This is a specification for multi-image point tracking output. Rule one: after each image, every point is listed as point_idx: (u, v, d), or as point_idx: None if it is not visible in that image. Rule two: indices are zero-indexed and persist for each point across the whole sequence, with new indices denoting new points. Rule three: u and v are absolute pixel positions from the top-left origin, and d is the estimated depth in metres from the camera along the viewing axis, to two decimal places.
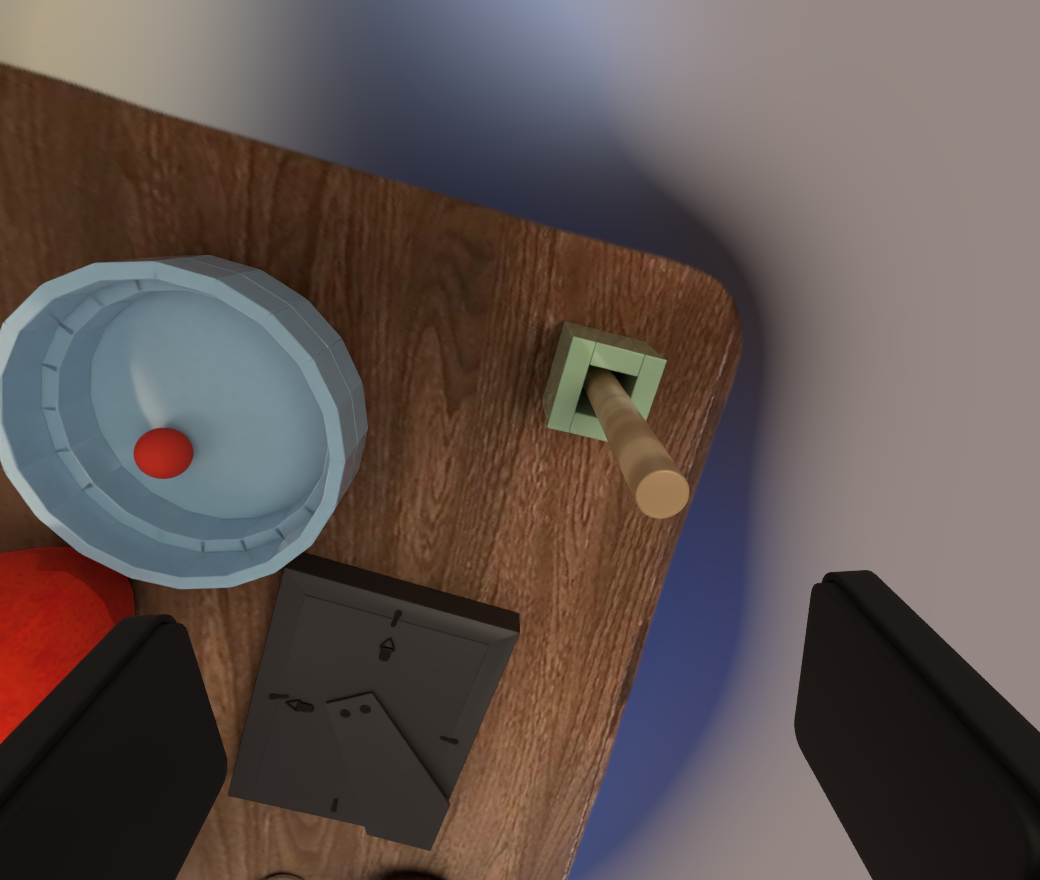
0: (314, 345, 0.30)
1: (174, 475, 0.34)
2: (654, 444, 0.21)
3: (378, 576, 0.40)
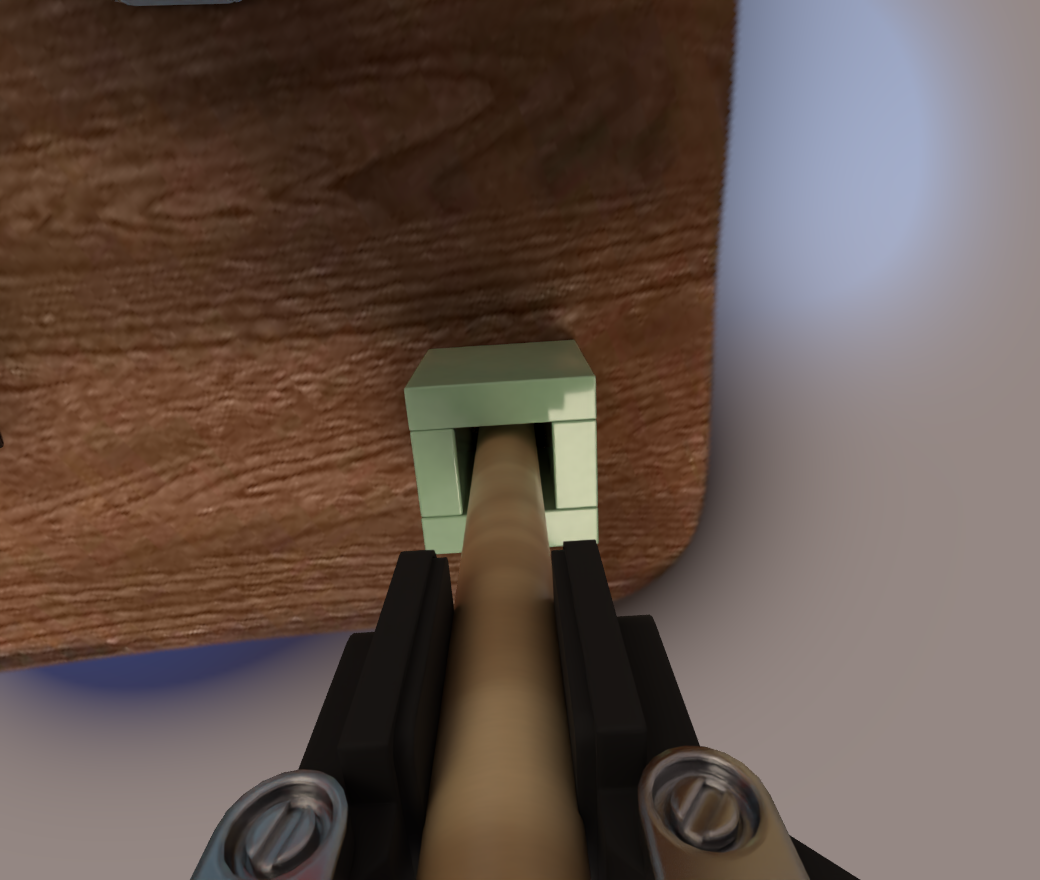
0: None
1: None
2: None
3: None
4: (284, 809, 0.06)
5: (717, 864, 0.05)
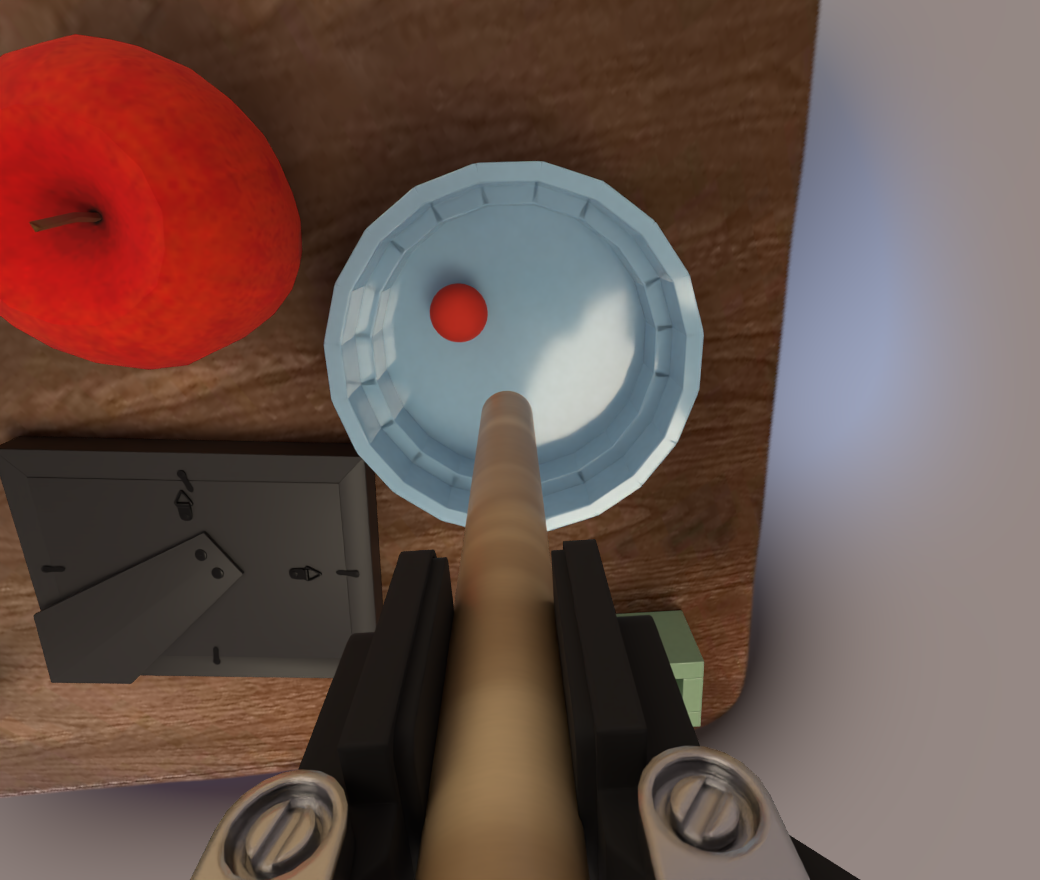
0: None
1: (441, 335, 0.30)
2: None
3: (377, 531, 0.37)
4: (284, 809, 0.06)
5: (718, 864, 0.05)
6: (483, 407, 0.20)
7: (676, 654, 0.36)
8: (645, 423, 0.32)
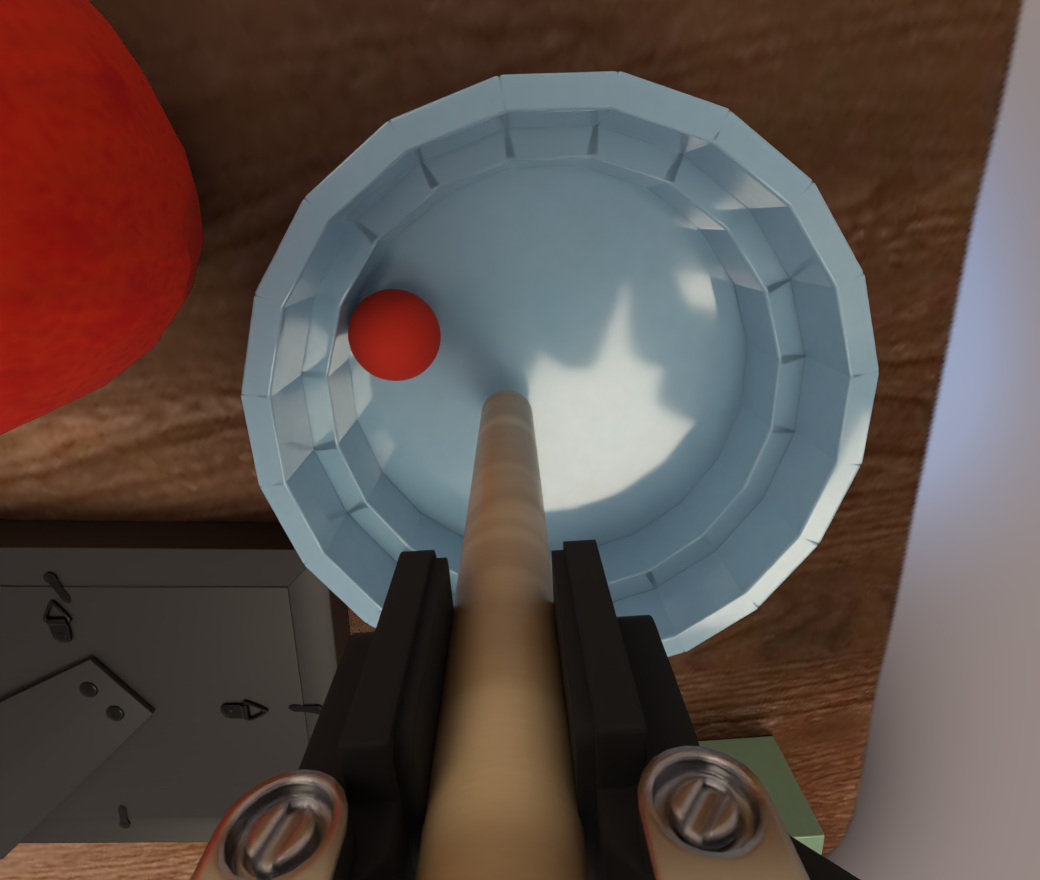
0: None
1: None
2: None
3: None
4: (284, 809, 0.06)
5: (718, 865, 0.05)
6: (483, 406, 0.20)
7: None
8: (753, 502, 0.21)
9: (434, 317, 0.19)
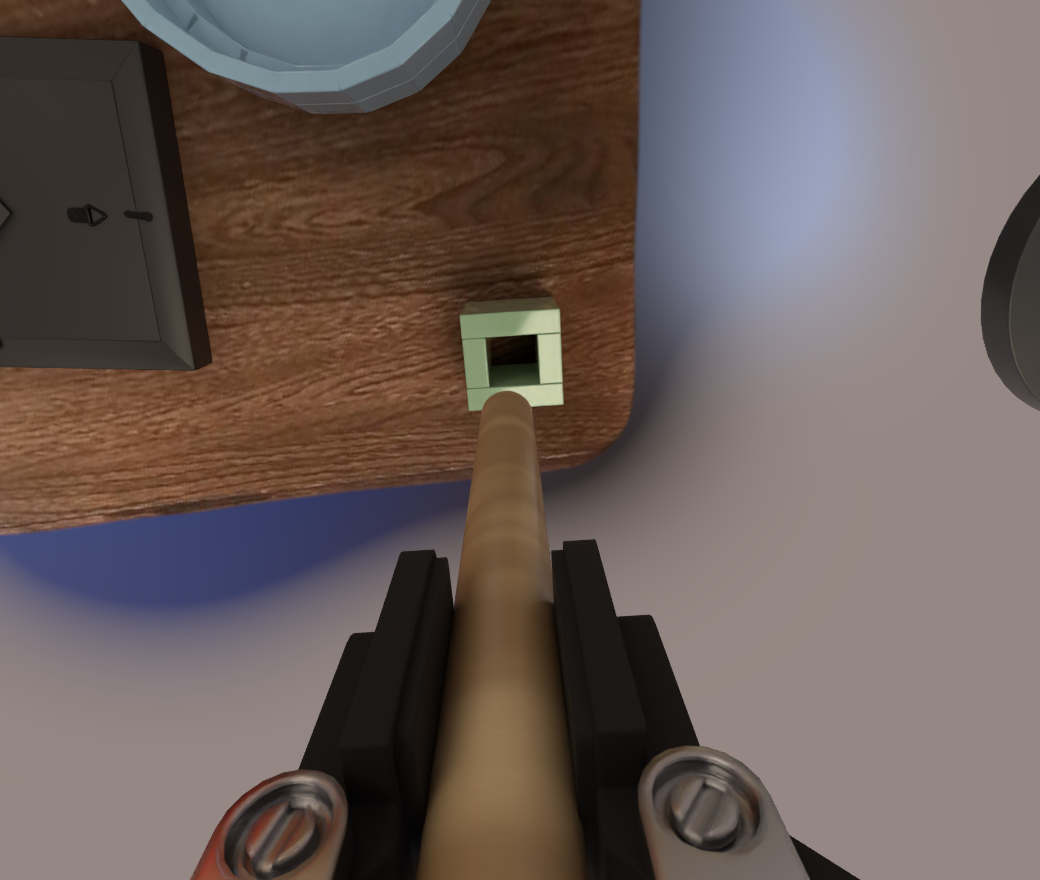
0: (461, 16, 0.25)
1: None
2: None
3: (179, 177, 0.31)
4: (284, 809, 0.06)
5: (716, 863, 0.05)
6: (483, 407, 0.20)
7: (530, 308, 0.30)
8: None
9: None
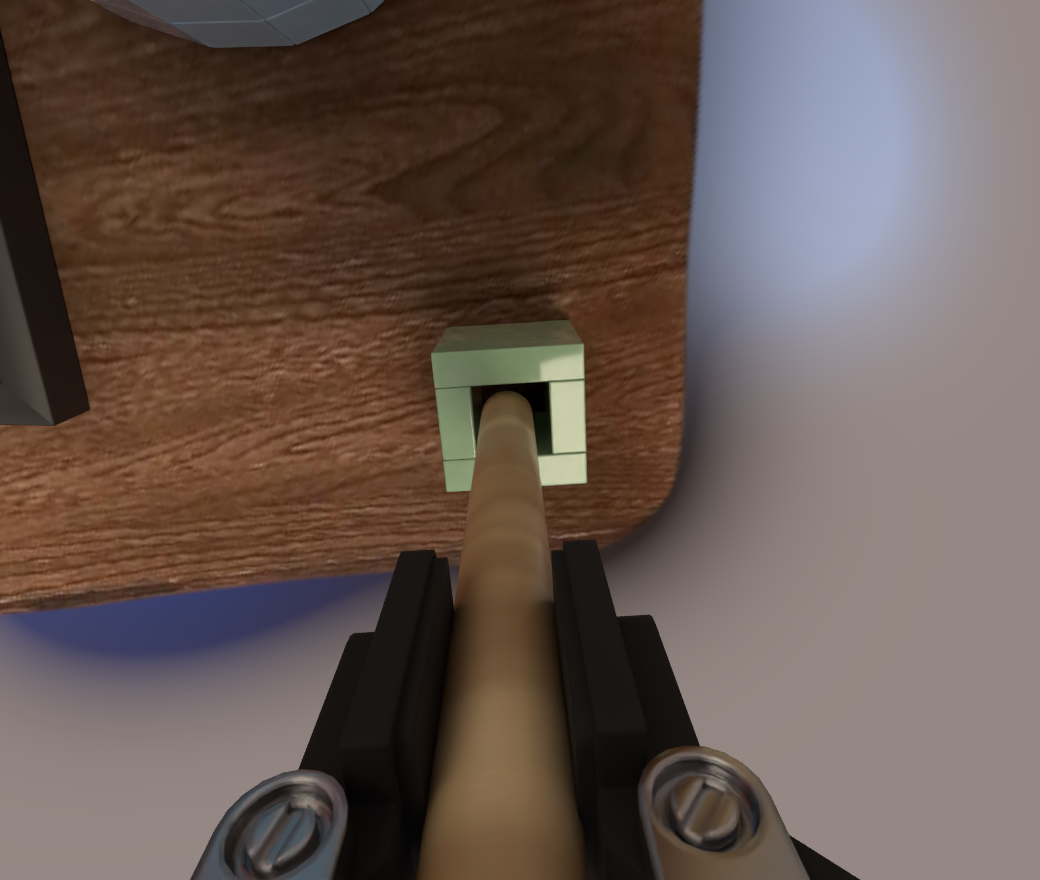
0: None
1: None
2: None
3: (20, 145, 0.21)
4: (284, 809, 0.06)
5: (717, 864, 0.05)
6: (483, 407, 0.20)
7: (538, 342, 0.20)
8: None
9: None
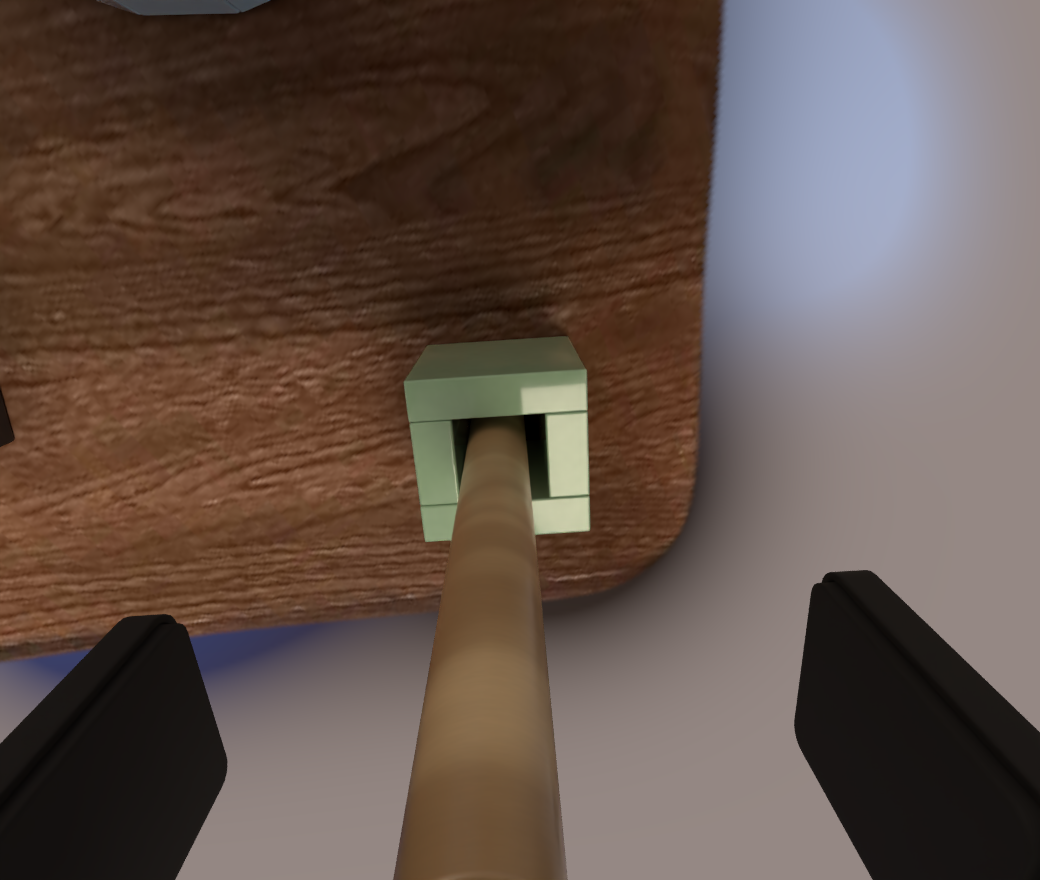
0: None
1: None
2: (552, 730, 0.08)
3: None
4: None
5: None
6: None
7: (532, 366, 0.17)
8: None
9: None
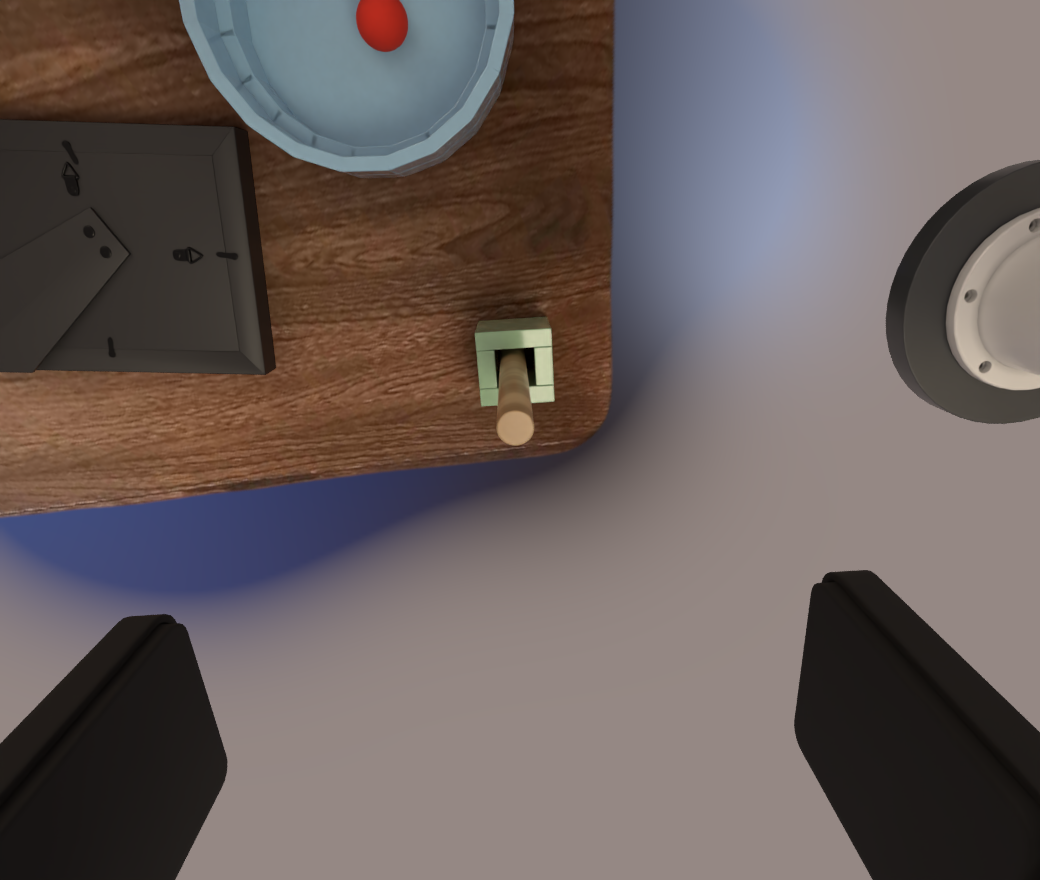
0: (478, 115, 0.34)
1: (390, 50, 0.35)
2: None
3: (257, 225, 0.40)
4: None
5: None
6: None
7: (528, 327, 0.39)
8: None
9: None
